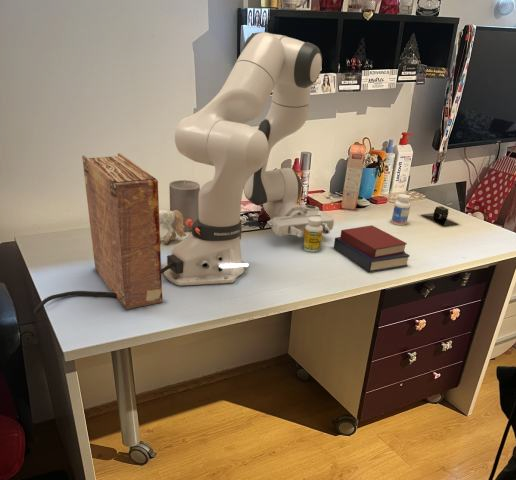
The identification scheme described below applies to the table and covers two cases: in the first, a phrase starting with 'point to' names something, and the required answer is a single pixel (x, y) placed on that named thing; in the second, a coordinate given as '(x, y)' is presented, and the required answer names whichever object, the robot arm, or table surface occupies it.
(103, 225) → the book
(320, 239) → the supplement bottle
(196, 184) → the pillar candle
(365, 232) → the book stack
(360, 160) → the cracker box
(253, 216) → the table surface
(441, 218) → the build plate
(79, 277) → the table surface
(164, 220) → the unicorn figurine
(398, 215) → the pill bottle
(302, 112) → the robot arm
